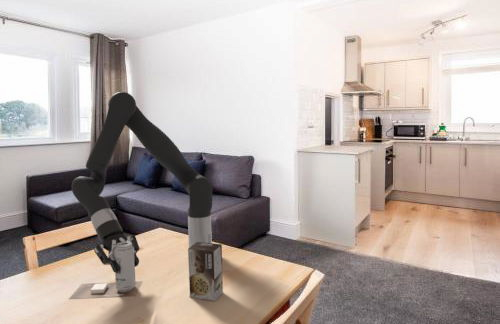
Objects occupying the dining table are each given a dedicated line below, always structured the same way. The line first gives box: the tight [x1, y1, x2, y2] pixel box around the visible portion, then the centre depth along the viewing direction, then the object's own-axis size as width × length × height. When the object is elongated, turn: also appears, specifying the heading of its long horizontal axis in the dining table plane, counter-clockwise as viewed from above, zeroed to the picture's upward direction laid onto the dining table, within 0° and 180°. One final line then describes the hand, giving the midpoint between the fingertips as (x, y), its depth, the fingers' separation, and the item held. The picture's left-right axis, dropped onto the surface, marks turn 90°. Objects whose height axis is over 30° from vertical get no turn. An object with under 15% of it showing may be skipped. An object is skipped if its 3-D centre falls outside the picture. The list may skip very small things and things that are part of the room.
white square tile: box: [91, 282, 109, 293], centre depth 111 cm, size 4×4×1 cm
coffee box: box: [187, 242, 224, 302], centre depth 109 cm, size 9×6×16 cm
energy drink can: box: [114, 241, 137, 292], centre depth 111 cm, size 6×6×15 cm
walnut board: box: [68, 280, 143, 300], centre depth 111 cm, size 20×10×1 cm, turn 94°
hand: (128, 268), depth 110 cm, fingers closed on energy drink can, 6 cm apart
